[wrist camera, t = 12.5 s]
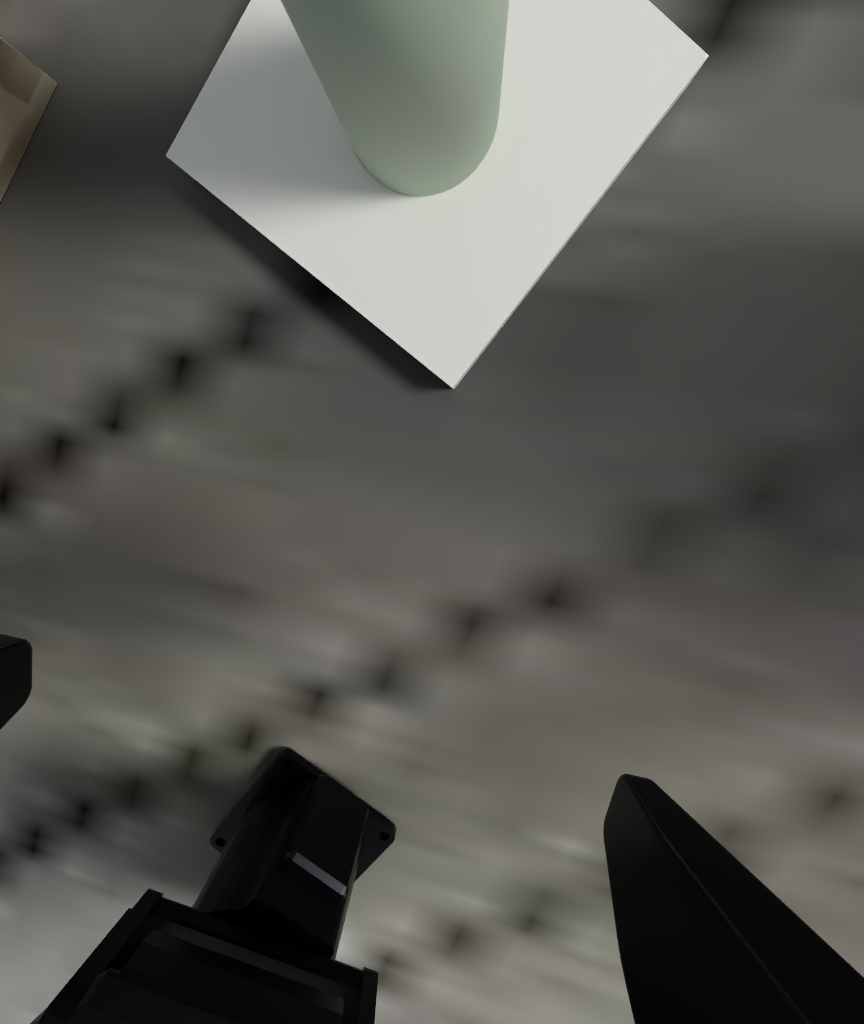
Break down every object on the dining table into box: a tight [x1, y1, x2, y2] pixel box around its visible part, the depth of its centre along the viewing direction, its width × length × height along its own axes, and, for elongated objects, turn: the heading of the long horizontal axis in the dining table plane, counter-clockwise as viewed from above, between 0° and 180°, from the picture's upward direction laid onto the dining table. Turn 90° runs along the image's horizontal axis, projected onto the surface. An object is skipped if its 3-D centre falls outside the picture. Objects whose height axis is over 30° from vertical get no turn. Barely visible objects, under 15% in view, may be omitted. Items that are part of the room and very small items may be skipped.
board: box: [166, 0, 709, 389], centre depth 16 cm, size 12×12×2 cm
